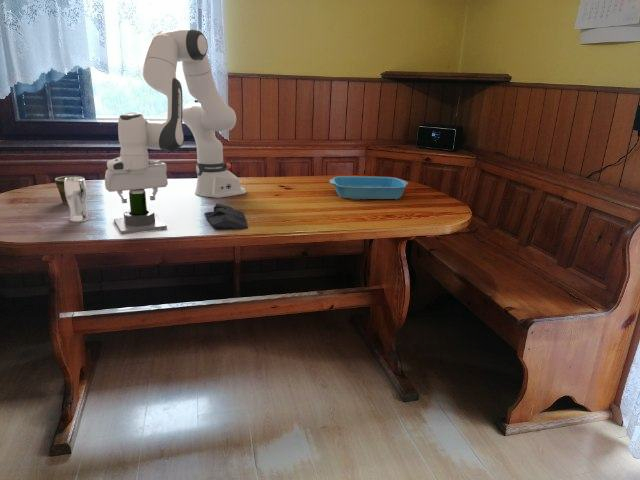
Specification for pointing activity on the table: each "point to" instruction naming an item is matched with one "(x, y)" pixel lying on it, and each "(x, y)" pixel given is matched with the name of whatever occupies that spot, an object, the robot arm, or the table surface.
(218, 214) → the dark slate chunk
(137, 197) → the beer can
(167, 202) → the table surface
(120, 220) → the barrel holder
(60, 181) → the ceramic cup
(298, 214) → the table surface
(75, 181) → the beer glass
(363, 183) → the casserole dish
